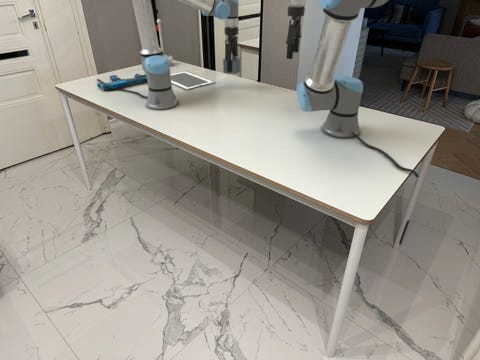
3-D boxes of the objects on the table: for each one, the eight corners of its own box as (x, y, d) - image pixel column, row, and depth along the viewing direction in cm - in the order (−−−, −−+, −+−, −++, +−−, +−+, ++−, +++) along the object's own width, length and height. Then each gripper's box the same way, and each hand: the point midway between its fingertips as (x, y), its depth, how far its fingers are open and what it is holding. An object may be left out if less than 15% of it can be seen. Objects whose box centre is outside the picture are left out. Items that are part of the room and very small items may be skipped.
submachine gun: (141, 68, 225) (159, 74, 208) (142, 74, 227) (160, 80, 210) (89, 78, 206) (104, 86, 190) (91, 84, 208) (106, 92, 192)
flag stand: (171, 61, 250) (166, 17, 234) (175, 66, 240) (170, 19, 224) (153, 63, 246) (147, 18, 230) (156, 68, 236) (150, 21, 220)
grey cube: (240, 71, 197) (240, 57, 193) (236, 74, 192) (236, 60, 188) (227, 69, 199) (227, 56, 195) (223, 73, 194) (223, 59, 190)
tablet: (159, 77, 217) (158, 76, 217) (185, 71, 228) (185, 71, 228) (186, 89, 197) (186, 89, 197) (214, 82, 208) (214, 82, 208)
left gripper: (231, 23, 191) (231, 65, 204) (217, 29, 175) (219, 73, 188) (243, 24, 189) (243, 66, 202) (231, 30, 173) (231, 75, 186)
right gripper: (294, 2, 162) (290, 49, 174) (281, 8, 142) (278, 60, 154) (309, 3, 160) (305, 50, 171) (299, 9, 140) (294, 62, 152)
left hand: (231, 69), depth 195 cm, fingers closed on grey cube, 7 cm apart
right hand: (292, 55), depth 163 cm, fingers open, 13 cm apart
